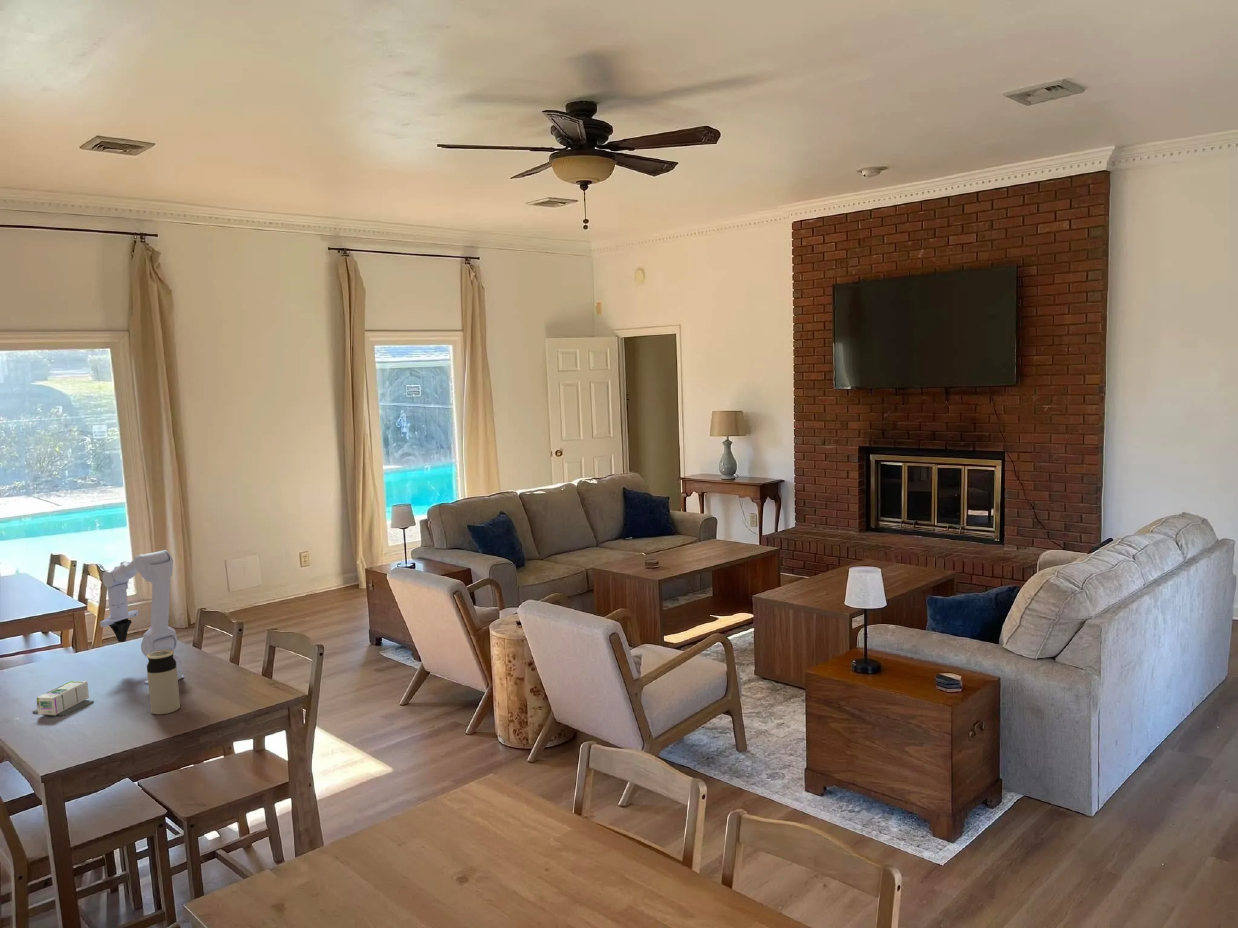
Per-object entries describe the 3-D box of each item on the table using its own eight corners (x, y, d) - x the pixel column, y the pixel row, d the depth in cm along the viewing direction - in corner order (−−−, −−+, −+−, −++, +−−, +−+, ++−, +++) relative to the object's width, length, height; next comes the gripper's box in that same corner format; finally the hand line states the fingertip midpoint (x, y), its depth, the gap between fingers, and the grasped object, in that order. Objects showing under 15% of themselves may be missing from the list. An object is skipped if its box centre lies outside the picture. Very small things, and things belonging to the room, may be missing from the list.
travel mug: (168, 715, 267) (162, 657, 265) (145, 714, 268) (139, 657, 266) (185, 705, 275) (180, 649, 273) (163, 704, 276) (158, 648, 274)
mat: (93, 702, 280) (93, 700, 280) (63, 715, 269) (62, 714, 269) (64, 699, 283) (63, 697, 283) (32, 712, 273) (32, 710, 273)
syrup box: (87, 680, 282) (52, 696, 267) (89, 698, 282) (54, 715, 268) (71, 680, 283) (35, 696, 268) (73, 698, 283) (37, 715, 269)
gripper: (125, 597, 316) (129, 634, 317) (91, 608, 302) (95, 647, 304) (141, 598, 314) (145, 635, 315) (108, 609, 300) (111, 648, 302)
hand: (122, 641), depth 309 cm, fingers closed
